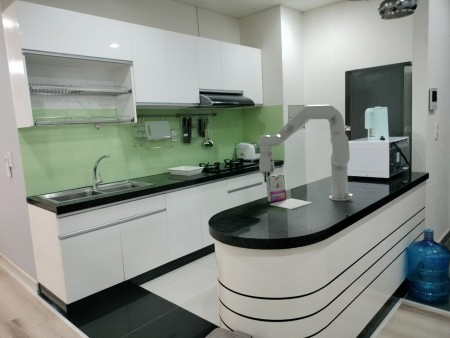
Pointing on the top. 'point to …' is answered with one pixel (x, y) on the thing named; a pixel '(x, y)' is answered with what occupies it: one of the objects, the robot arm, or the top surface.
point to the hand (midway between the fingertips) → (266, 181)
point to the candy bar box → (275, 188)
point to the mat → (291, 203)
